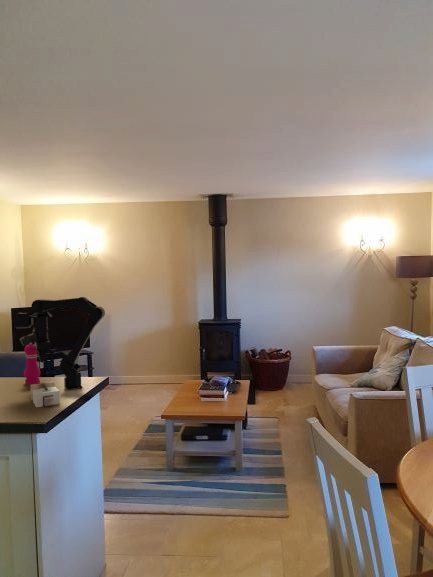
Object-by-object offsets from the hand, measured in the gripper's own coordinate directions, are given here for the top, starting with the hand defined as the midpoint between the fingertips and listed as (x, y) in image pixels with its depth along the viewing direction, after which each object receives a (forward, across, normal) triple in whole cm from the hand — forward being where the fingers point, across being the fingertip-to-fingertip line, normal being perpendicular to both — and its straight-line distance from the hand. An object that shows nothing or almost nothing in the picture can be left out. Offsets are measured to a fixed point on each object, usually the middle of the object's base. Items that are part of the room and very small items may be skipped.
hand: (41, 362), depth 188 cm
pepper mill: (+12, -16, -2) cm, 20 cm away
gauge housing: (+12, +24, -2) cm, 27 cm away
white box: (+12, +23, -2) cm, 26 cm away
